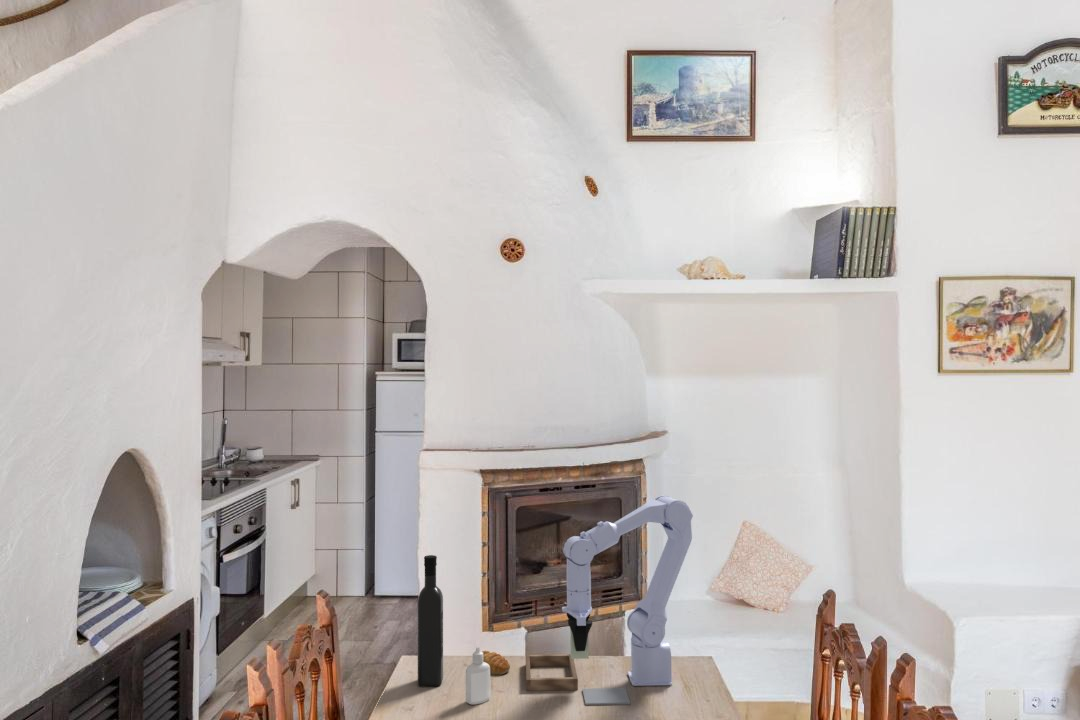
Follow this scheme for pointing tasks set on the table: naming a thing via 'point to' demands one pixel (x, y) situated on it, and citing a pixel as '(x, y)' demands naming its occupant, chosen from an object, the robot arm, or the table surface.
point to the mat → (605, 696)
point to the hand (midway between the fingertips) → (579, 647)
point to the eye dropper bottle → (477, 680)
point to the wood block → (578, 654)
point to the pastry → (496, 663)
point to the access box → (551, 683)
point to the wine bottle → (430, 628)
